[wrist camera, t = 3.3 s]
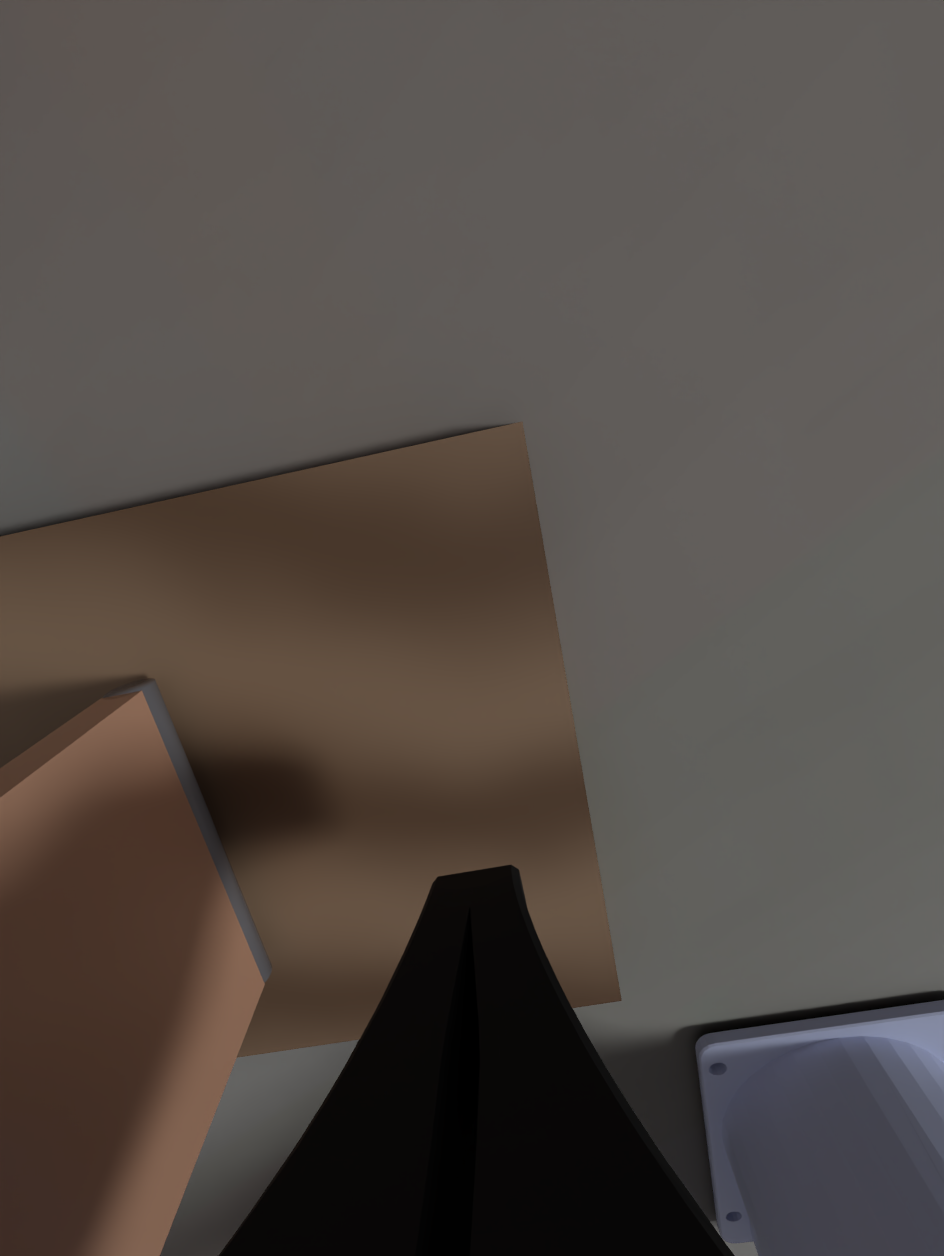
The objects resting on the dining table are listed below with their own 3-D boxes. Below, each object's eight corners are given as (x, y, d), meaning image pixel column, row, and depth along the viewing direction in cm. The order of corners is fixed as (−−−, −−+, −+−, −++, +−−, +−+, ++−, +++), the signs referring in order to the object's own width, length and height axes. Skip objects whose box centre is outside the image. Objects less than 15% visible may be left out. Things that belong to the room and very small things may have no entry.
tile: (101, 1414, 8) (27, 1421, 8) (277, 956, 15) (236, 962, 15) (-232, 975, 6) (-334, 992, 6) (164, 674, 13) (116, 684, 13)
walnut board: (611, 962, 17) (621, 1000, 16) (33, 1050, 18) (4, 1091, 17) (518, 423, 12) (522, 421, 11) (-246, 590, 14) (-313, 605, 12)
